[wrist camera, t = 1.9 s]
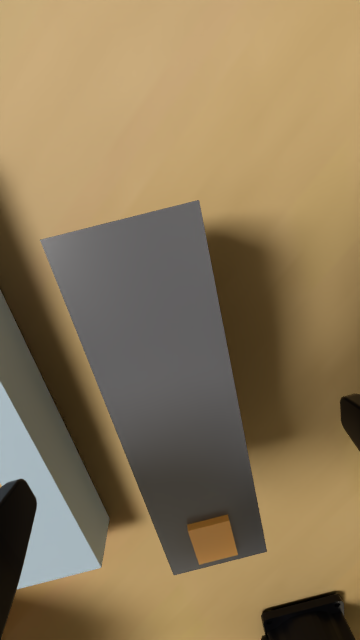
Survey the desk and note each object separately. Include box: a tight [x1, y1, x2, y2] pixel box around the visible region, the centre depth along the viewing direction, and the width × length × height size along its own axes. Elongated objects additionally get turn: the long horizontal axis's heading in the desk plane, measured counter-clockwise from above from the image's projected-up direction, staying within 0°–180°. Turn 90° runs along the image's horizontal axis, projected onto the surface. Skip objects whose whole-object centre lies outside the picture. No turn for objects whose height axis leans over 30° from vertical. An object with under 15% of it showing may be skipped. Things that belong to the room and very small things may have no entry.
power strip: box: [40, 200, 267, 575], centre depth 10 cm, size 12×4×6 cm, turn 14°
